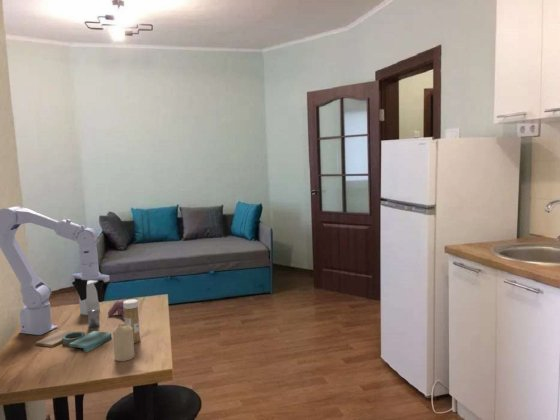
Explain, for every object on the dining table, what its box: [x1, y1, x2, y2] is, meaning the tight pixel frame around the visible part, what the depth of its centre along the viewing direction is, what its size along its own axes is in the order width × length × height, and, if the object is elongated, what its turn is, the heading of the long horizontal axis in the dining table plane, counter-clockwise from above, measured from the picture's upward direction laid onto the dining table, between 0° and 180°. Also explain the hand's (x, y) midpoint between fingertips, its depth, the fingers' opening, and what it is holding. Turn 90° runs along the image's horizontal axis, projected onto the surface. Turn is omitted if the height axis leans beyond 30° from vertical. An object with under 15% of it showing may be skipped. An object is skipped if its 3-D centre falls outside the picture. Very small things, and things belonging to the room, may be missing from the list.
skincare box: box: [78, 280, 101, 316], centre depth 177 cm, size 6×4×12 cm
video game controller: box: [107, 299, 127, 321], centre depth 173 cm, size 10×5×7 cm, turn 58°
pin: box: [87, 308, 100, 329], centre depth 162 cm, size 4×4×6 cm
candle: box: [112, 322, 135, 362], centre depth 136 cm, size 6×6×10 cm
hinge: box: [34, 329, 113, 353], centre depth 149 cm, size 21×11×2 cm, turn 72°
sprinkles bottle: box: [123, 298, 141, 344], centre depth 147 cm, size 5×5×14 cm
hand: (92, 300), depth 162 cm, fingers open, 7 cm apart
